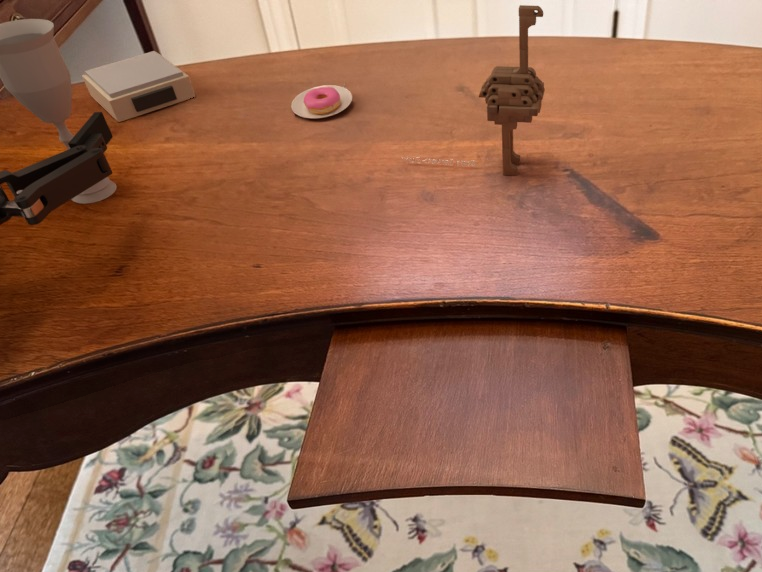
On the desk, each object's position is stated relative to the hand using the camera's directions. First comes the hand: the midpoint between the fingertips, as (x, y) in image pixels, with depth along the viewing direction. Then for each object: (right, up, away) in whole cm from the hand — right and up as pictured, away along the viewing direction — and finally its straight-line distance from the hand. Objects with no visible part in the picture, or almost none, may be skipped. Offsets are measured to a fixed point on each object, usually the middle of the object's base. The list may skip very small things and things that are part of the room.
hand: (39, 126), depth 74 cm
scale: (-3, +14, +27) cm, 30 cm away
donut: (+24, +11, +24) cm, 36 cm away
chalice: (0, -4, +10) cm, 11 cm away
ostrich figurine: (+45, -1, +11) cm, 46 cm away
